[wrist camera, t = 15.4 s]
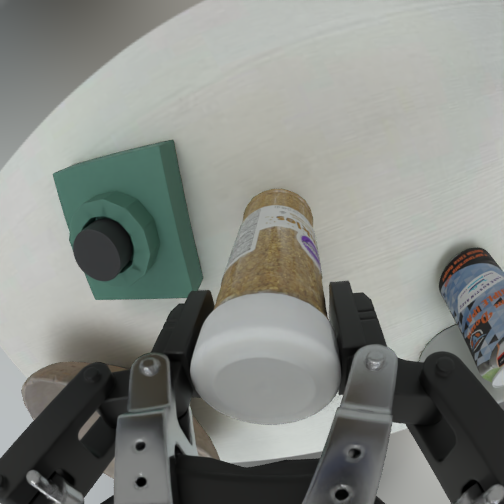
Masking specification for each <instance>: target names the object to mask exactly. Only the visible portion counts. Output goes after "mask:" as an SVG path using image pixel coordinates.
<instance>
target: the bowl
mask: <svg viewBox="0 0 504 504" xmlns="http://www.w3.org/2000/svg"><path fill="white" fill-rule="evenodd" d="M89 364H91V363H86V362H59V363H55V364H51V365H49V366H46V367H44V368H42V369H40V370H38V371H37V372H35V373H33V374H32V375H31V376H30V377H29V378H28V379H27V380H26V382H25V383H24V384H23V386H22V390H21V391H22V397H23V401H24V404H25V406H26V408H27V409H28V411H29V413H30V414H31V416H32V418H33V420H35V419H36V418H37V417H38V415H39V414H40V413H41V412H42V411H43V410H44V409H45V408H46V407H47V406H48V405H49V403H50V402H51V401H52V400H53V399H54V398H55V397H56V396H57V395H58V394H59V393H60V392H61V391H62V389H63V388H64V387H65V386H66V385H67V384H68V383H69V382H70V381H71V380H72V379H73V378H74V377H75V376H76V375H77V374H78V373H79V371H80V370H81V369H83V368H84V367H85V366H87V365H89ZM106 365H107V364H106ZM107 366H108V367H109V369H110V370H111V372H117V371H123V370H128V369H126V368H122V367H118V366H113V365H107ZM99 417H100V415H99V414H98V413H97V411H95V412H94V414H93V415H92V416H91V417H90V418H89V420H88V421H87V422H86V423H85V424H84V426H83V427H82V428H81V429H80V431H79V434H78V438H79V440H81V439H82V437H83V436H84V435H85V434H86V432H87V431H88V430H89V429H90V428H91V426H92V425H93V424H94V423H95V422H96V420H97V419H98V418H99ZM192 418H193V426H194V433H195V441H196V448H197V452H198V455H199V456H200V457H211V458H214V459H217V460H220V458H219V456H218V453H217V451H216V449H215V447H214V445H213V443H212V441H211V439H210V437H209V436H208V435H207V433H206V432H205V430H204V429H203V428H202V427H201V425H200V424H199V423H198V421H197V420H196V419H195V417H194V416H193V415H192ZM114 463H115V457H114V459H113V460H112V461H111V463H110V464H109V465H108V467H107V468H106V469H105V471H104V472H103V473H104V474H106V475H108V476H110V477H111V478H113V479H114Z"/></svg>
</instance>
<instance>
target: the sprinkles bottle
mask: <svg viewBox="0 0 504 504" xmlns="http://www.w3.org/2000/svg"><path fill="white" fill-rule="evenodd" d="M190 374H191V380H192V383H193V385H194V387H195V390H196V391H197V393H198V394H199V395H200V396H201V398H202V399H203V400H204V401H205V402H206V403H207V404H209V405H210V406H211V407H212V408H214V409H215V410H217V411H219V412H220V413H222V414H224V415H226V416H228V417H231V418H234V419H237V420H240V421H244V422H248V423H254V424H265V425H277V424H286V423H291V422H295V421H299V420H302V419H305V418H307V417H310V416H312V415H314V414H316V413H318V412H319V411H320V410H322V409H323V408H325V407H326V406H327V405H328V404H329V403H330V402H331V401H332V399H333V398H334V397H335V395H336V394H337V392H338V389H339V386H340V382H341V363H340V354H339V347H338V341H337V336H336V333H335V330H334V328H333V326H332V324H331V323H330V321H329V319H328V317H327V311H326V307H325V298H324V292H323V286H322V271H321V265H320V260H319V254H318V248H317V242H316V236H315V233H314V230H313V216H312V213H311V209H310V207H309V206H308V204H307V203H306V201H305V200H304V199H303V198H301V197H300V196H299V195H298V194H296V193H294V192H291V191H288V190H285V189H271V190H267V191H264V192H262V193H260V194H258V195H257V196H255V197H253V199H252V200H251V202H250V203H249V204H248V205H247V207H246V209H245V212H244V216H243V223H242V225H241V226H240V229H239V232H238V235H237V237H236V240H235V243H234V246H233V249H232V252H231V255H230V258H229V261H228V264H227V267H226V269H225V272H224V275H223V278H222V282H221V288H220V292H219V294H218V297H217V301H216V304H215V307H214V310H213V311H212V312H211V313H210V314H209V316H208V317H207V319H206V320H205V322H204V323H203V326H202V328H201V331H200V334H199V337H198V340H197V343H196V346H195V349H194V353H193V356H192V360H191V366H190Z"/></svg>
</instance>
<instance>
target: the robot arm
mask: <svg viewBox="0 0 504 504" xmlns="http://www.w3.org/2000/svg"><path fill="white" fill-rule="evenodd" d="M214 307H215V306H214V302H213V298H212V294H211V292H210V291H209V290H201V291H191V292H190V293H189V295H188V297H187V299H186V302H185V303H184V304H178V305H177V306H176V307H175V308H174V309H173V310H172V311H171V312H170V314H169V316H168V318H167V320H166V322H165V324H164V326H163V329H162V330H161V332H160V334H159V336H158V338H157V341H156V343H155V345H154V347H153V349H152V351H151V353H147V354H144V355H142V356H140V357H139V358H138V359H136V360H135V361H134V363H133V364H132V366H131V369H128V370H123V371H117V372H111V370H110V369H109V367H108V366H107V365H106V364H104V363H101V362H95V363H91V364H89V365H87V366H85V367H84V368H83V369H81V370H80V371H79V373H78V374H77V375H76V376H75V377H74V378H73V379H72V380H71V381H70V382H69V383H68V384H67V385H66V386H65V387H64V388H63V389H62V391H61V392H60V393H59V394H58V395H57V396H56V397H55V398H54V399H53V400H52V401H51V402H50V403H49V405H48V406H47V407H46V408H45V409H44V410H43V411H42V412H41V413H40V414H39V415H38V417H37V418H36V419H35V420H34V421H33V422H32V423H31V424H30V425H29V427H28V428H27V429H26V430H25V431H24V432H23V433H22V434H21V436H20V437H19V438H18V439H17V440H16V441H15V442H14V443H13V445H12V446H11V447H10V448H9V449H8V450H7V452H6V453H5V454H4V455H3V456H2V457H1V458H0V503H1V504H84V497H85V496H86V495H87V493H88V492H89V490H90V489H91V488H92V487H93V485H94V484H95V483H96V481H97V480H98V479H99V477H100V476H101V475H102V473H103V472H104V471H105V469H106V468H107V467H108V465H109V464H110V463H111V461H112V460H113V459H114V457H115V463H114V495H113V496H111V497H110V498H108V499H107V500H105V501H104V502H102V503H101V504H385V503H384V502H383V501H382V500H380V499H379V498H378V497H377V496H376V494H377V490H378V486H379V482H380V478H381V474H382V470H383V466H384V461H385V457H386V452H387V447H388V442H389V437H390V432H391V426H392V422H396V423H405V424H406V426H407V427H408V429H409V431H410V432H411V434H412V435H413V437H414V439H415V441H416V442H417V444H418V446H419V447H420V449H421V451H422V453H423V454H424V456H425V458H426V460H427V461H428V463H429V465H430V466H431V468H432V470H433V472H434V473H435V475H436V477H437V479H438V480H439V482H440V484H441V486H442V488H443V489H444V491H445V493H446V495H447V497H448V498H449V500H450V502H451V504H504V411H503V409H502V408H501V407H500V406H499V404H498V403H497V402H496V401H495V399H494V398H493V397H492V396H491V394H490V393H489V392H488V391H487V390H486V388H485V387H484V386H483V385H482V384H481V382H480V381H479V380H478V379H477V378H476V376H475V375H474V374H473V373H472V372H471V371H470V369H469V368H468V367H467V366H466V365H465V364H464V363H463V361H462V360H461V359H460V358H459V357H458V356H456V355H455V354H453V353H450V352H445V351H439V352H435V353H432V354H430V355H429V356H428V357H427V358H426V359H425V361H424V362H414V361H406V360H403V359H400V358H398V357H397V356H396V354H395V352H394V351H393V350H392V349H390V348H388V347H387V345H386V342H385V339H384V336H383V333H382V330H381V327H380V324H379V321H378V319H377V315H376V312H375V311H374V307H373V304H372V301H371V299H370V298H368V297H367V296H366V295H365V294H364V293H352V290H351V286H350V283H349V281H339V282H330V284H329V319H330V323H331V324H332V326H333V328H334V330H335V333H336V336H337V341H338V347H339V354H340V363H341V382H340V386H339V389H338V391H339V395H343V398H342V401H341V405H340V407H338V408H337V411H336V414H335V417H334V420H333V423H332V426H331V429H330V432H329V435H328V438H327V441H326V444H325V446H324V449H323V452H322V455H321V458H319V459H301V460H283V461H279V462H274V463H270V464H265V465H260V466H255V467H248V468H246V467H241V466H237V465H234V464H230V463H227V462H224V461H220V460H217V459H214V458H211V457H200V456H199V455H198V452H197V448H196V441H195V433H194V426H193V418H192V410H191V407H190V405H189V404H190V401H191V397H199V398H201V396H200V395H199V394H198V393H197V391H196V390H195V387H194V385H193V383H192V380H191V374H190V366H191V360H192V356H193V353H194V349H195V346H196V343H197V340H198V337H199V334H200V331H201V328H202V326H203V323H204V322H205V320H206V319H207V317H208V316H209V314H210V313H211V312H212V311H213V310H214ZM95 411H97V413H98V414H99V415H100V417H99V418H98V419H97V420H96V422H95V423H94V424H93V425H92V426H91V428H90V429H89V430H88V431H87V432H86V434H85V435H84V436H83V437H82V439H81V440H79V438H78V434H79V431H80V429H81V428H82V427H83V426H84V424H85V423H86V422H87V421H88V420H89V418H90V417H91V416H92V415H93V414H94V412H95Z"/></svg>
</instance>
